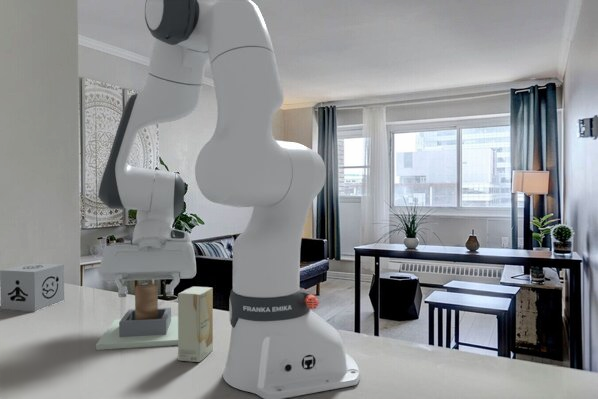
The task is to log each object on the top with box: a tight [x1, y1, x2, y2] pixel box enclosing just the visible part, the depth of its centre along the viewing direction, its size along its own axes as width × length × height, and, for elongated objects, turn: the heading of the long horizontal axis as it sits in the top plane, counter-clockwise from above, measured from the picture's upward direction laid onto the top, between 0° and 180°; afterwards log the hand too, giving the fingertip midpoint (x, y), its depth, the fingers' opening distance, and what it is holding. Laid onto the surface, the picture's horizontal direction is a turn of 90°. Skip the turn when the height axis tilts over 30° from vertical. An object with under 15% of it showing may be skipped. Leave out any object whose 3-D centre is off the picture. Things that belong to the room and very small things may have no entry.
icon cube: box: [0, 262, 65, 312], centre depth 114 cm, size 10×10×10 cm
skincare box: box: [177, 286, 214, 363], centre depth 81 cm, size 6×4×12 cm
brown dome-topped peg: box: [134, 283, 159, 320], centre depth 93 cm, size 4×4×9 cm
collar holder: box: [95, 307, 178, 351], centre depth 93 cm, size 16×16×4 cm
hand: (145, 294), depth 92 cm, fingers open, 8 cm apart
